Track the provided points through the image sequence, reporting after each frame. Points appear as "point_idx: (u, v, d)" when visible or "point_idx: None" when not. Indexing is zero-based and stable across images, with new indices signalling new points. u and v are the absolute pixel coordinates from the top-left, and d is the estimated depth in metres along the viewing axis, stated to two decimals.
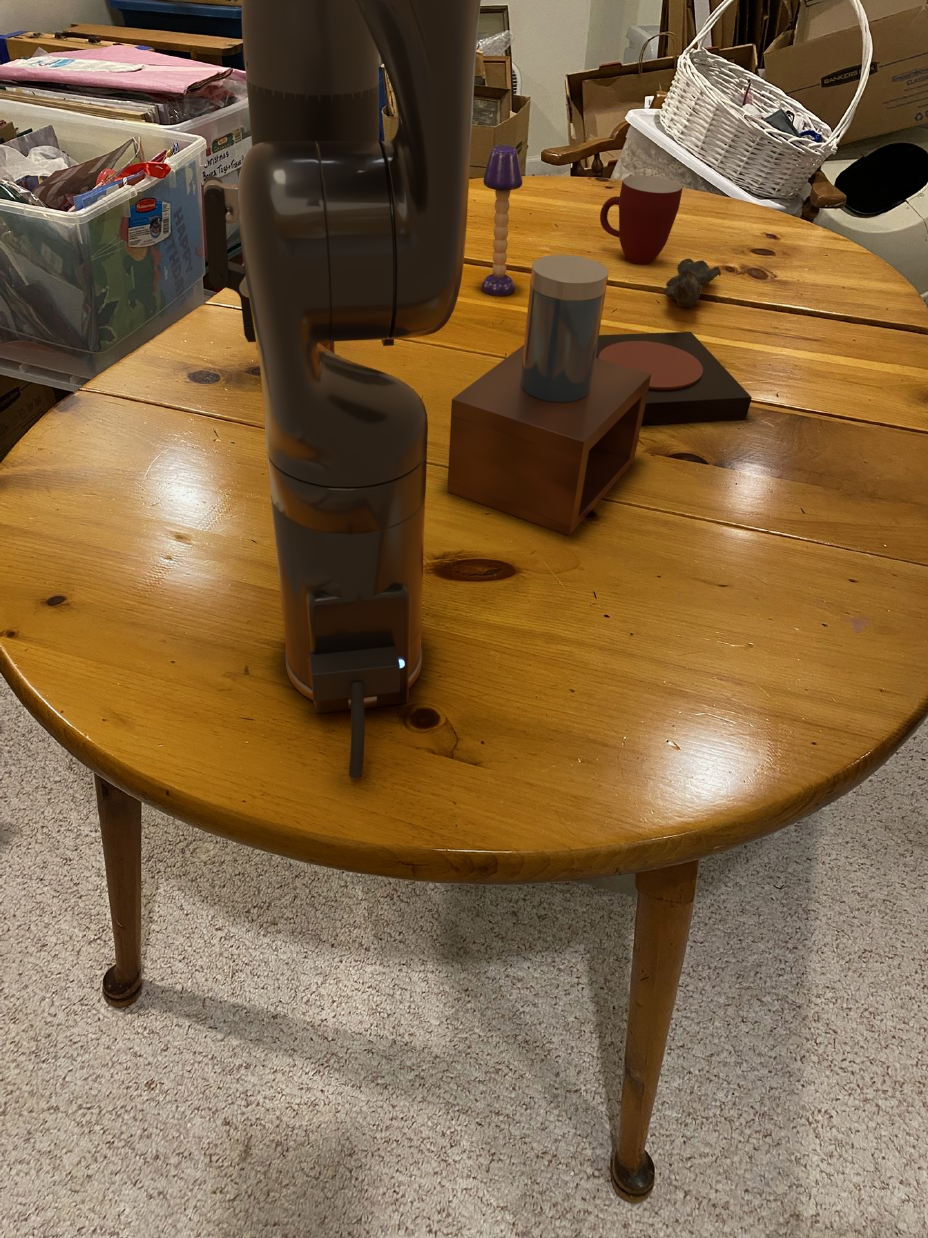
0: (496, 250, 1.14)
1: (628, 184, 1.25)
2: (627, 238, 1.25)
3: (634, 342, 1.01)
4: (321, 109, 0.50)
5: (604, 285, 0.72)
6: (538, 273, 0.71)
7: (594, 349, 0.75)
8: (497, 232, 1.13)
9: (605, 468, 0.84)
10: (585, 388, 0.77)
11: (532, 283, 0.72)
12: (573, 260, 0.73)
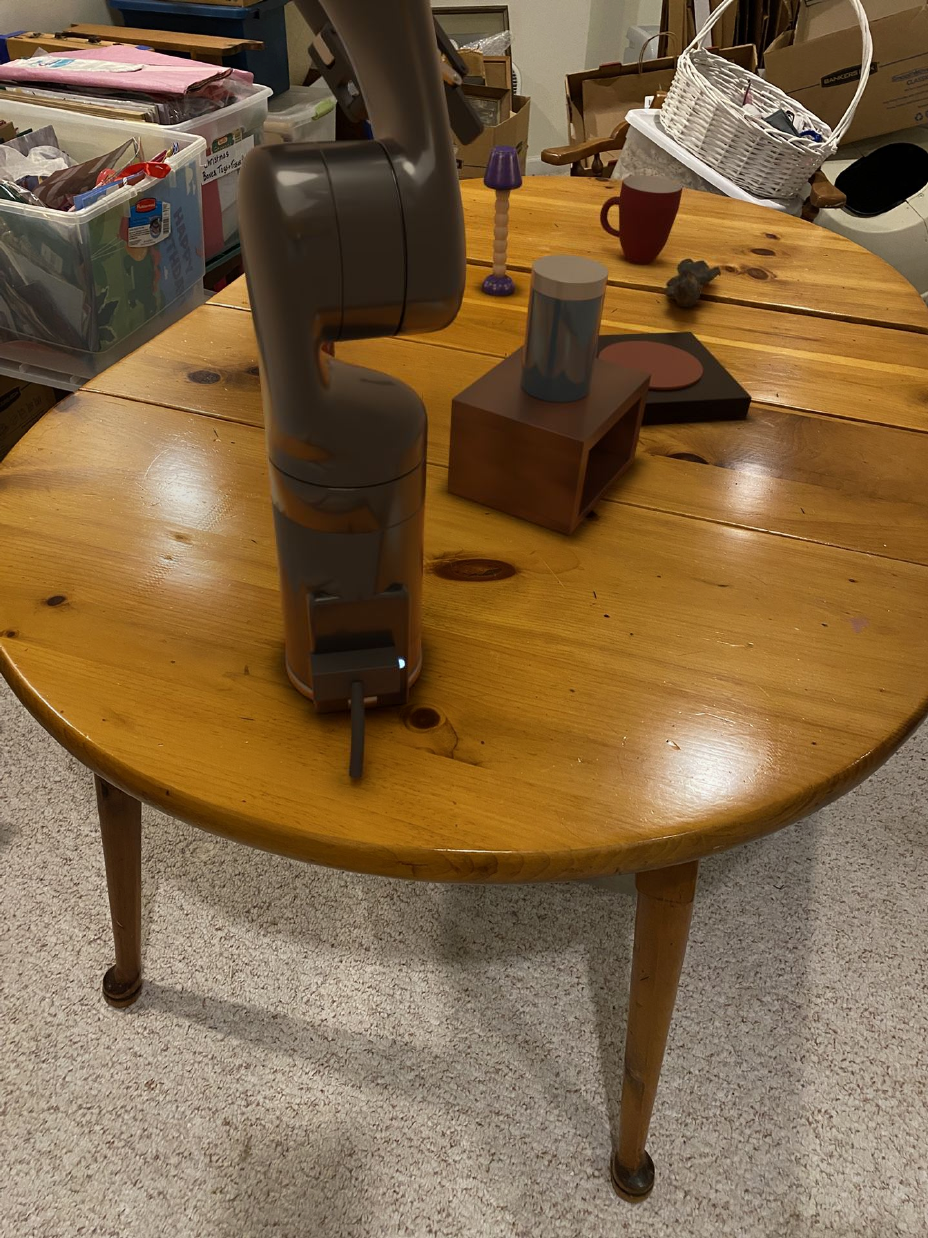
0: (496, 250, 1.14)
1: (628, 184, 1.25)
2: (627, 238, 1.25)
3: (634, 342, 1.01)
4: None
5: (604, 285, 0.72)
6: (538, 273, 0.71)
7: (594, 349, 0.75)
8: (497, 232, 1.13)
9: (605, 468, 0.84)
10: (585, 388, 0.77)
11: (532, 283, 0.72)
12: (573, 260, 0.73)
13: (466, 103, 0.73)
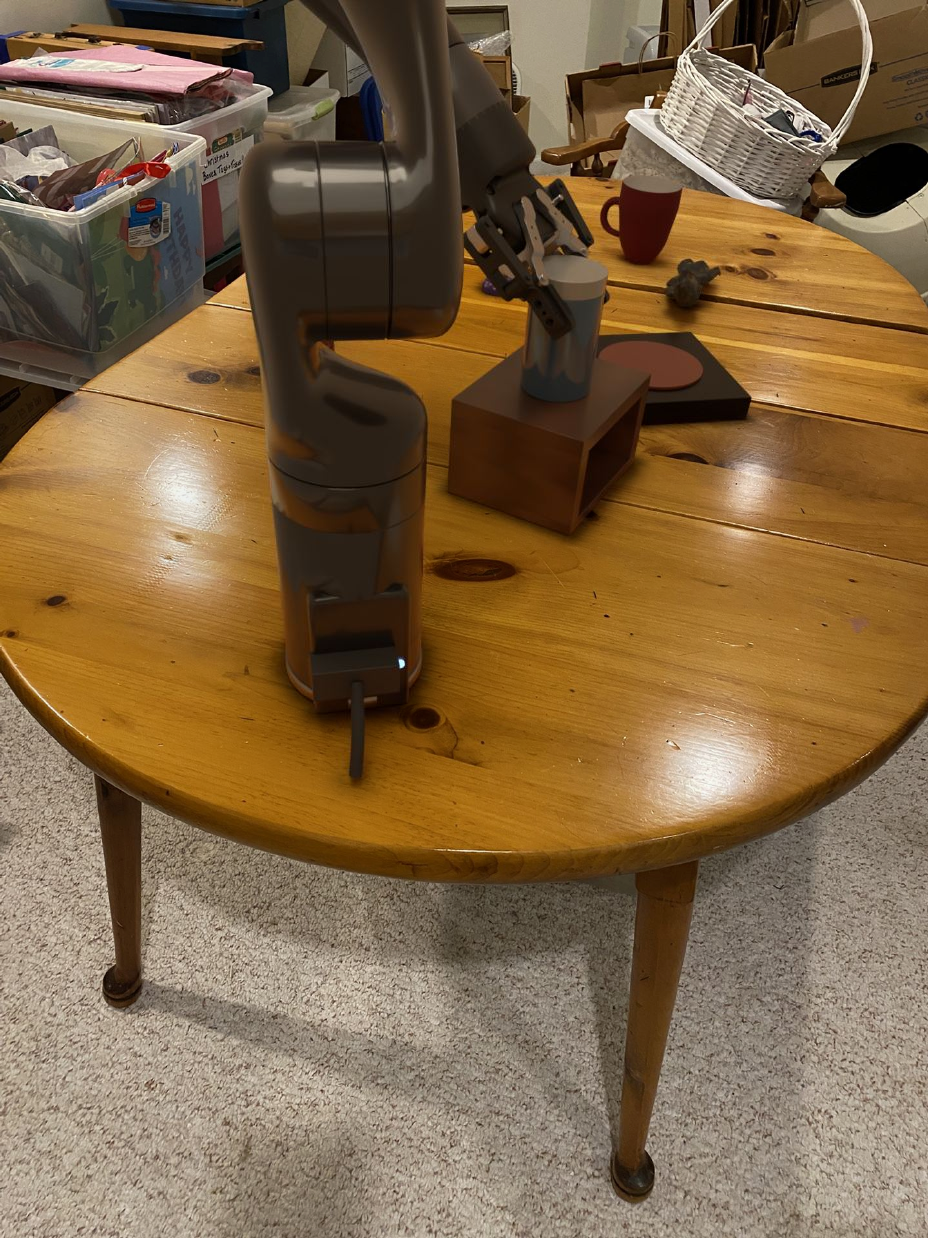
0: None
1: (628, 184, 1.25)
2: (627, 238, 1.25)
3: (634, 342, 1.01)
4: (505, 110, 0.68)
5: (604, 285, 0.72)
6: None
7: (594, 349, 0.75)
8: None
9: (605, 468, 0.84)
10: (585, 388, 0.77)
11: None
12: (573, 260, 0.73)
13: None
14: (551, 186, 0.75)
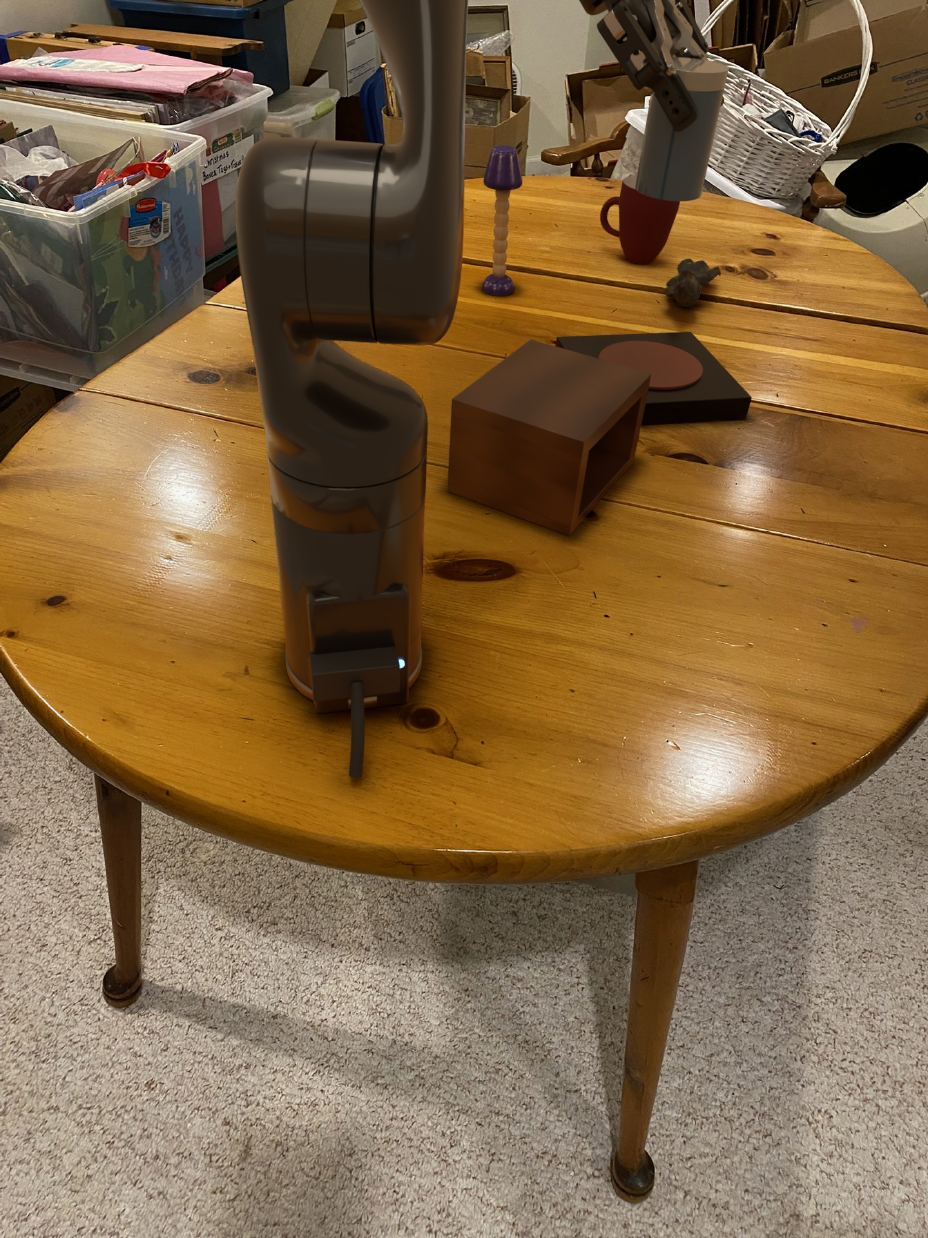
0: (496, 250, 1.14)
1: (628, 184, 1.25)
2: (627, 238, 1.25)
3: (634, 342, 1.01)
4: None
5: (725, 79, 0.77)
6: None
7: (710, 148, 0.80)
8: (497, 232, 1.13)
9: (605, 468, 0.84)
10: (699, 188, 0.82)
11: None
12: (693, 60, 0.78)
13: None
14: None
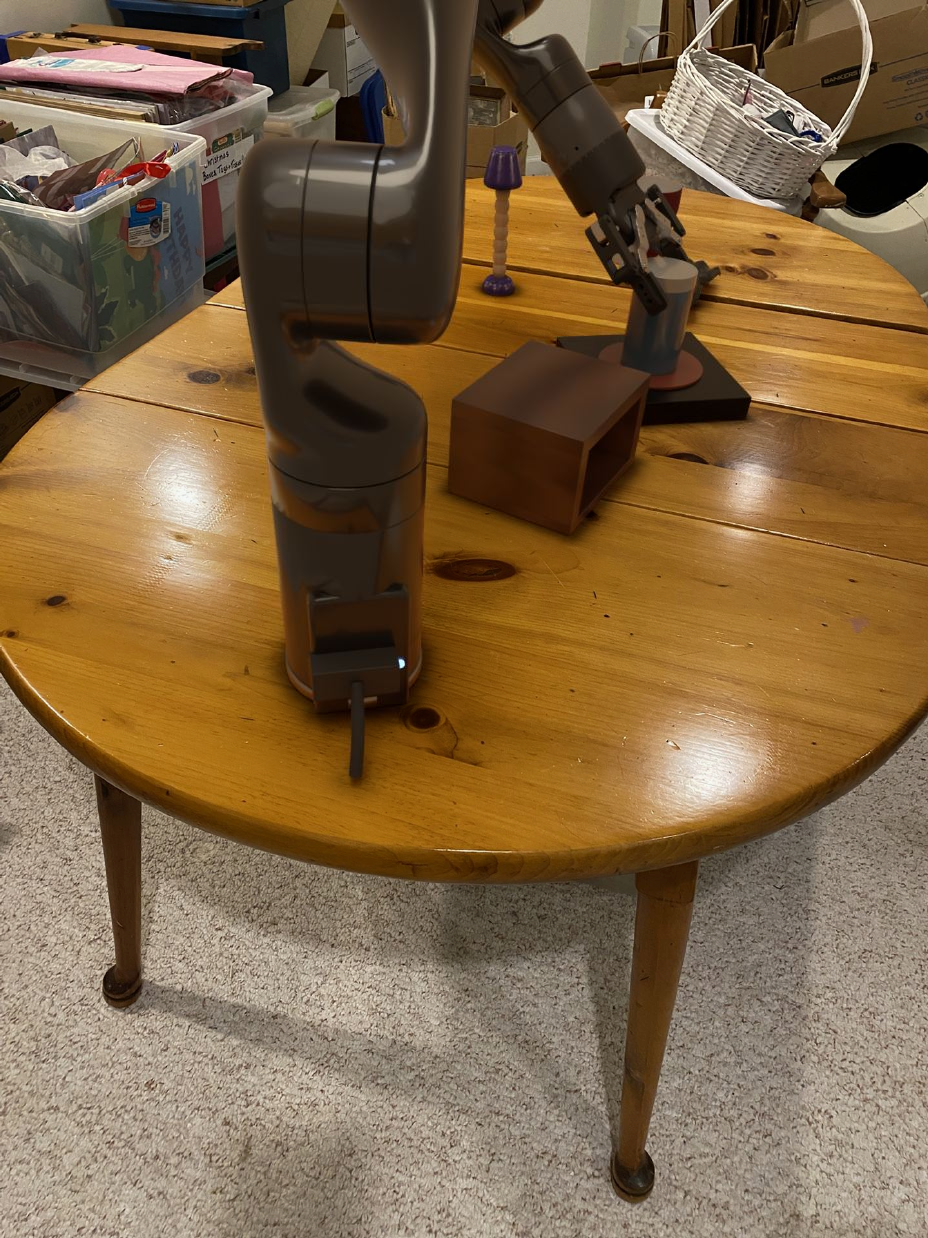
0: (496, 250, 1.14)
1: None
2: None
3: None
4: (625, 136, 0.86)
5: (695, 281, 0.90)
6: None
7: (683, 332, 0.94)
8: (497, 232, 1.13)
9: (605, 468, 0.84)
10: (675, 363, 0.96)
11: None
12: (668, 261, 0.92)
13: (687, 259, 0.94)
14: (649, 191, 0.93)
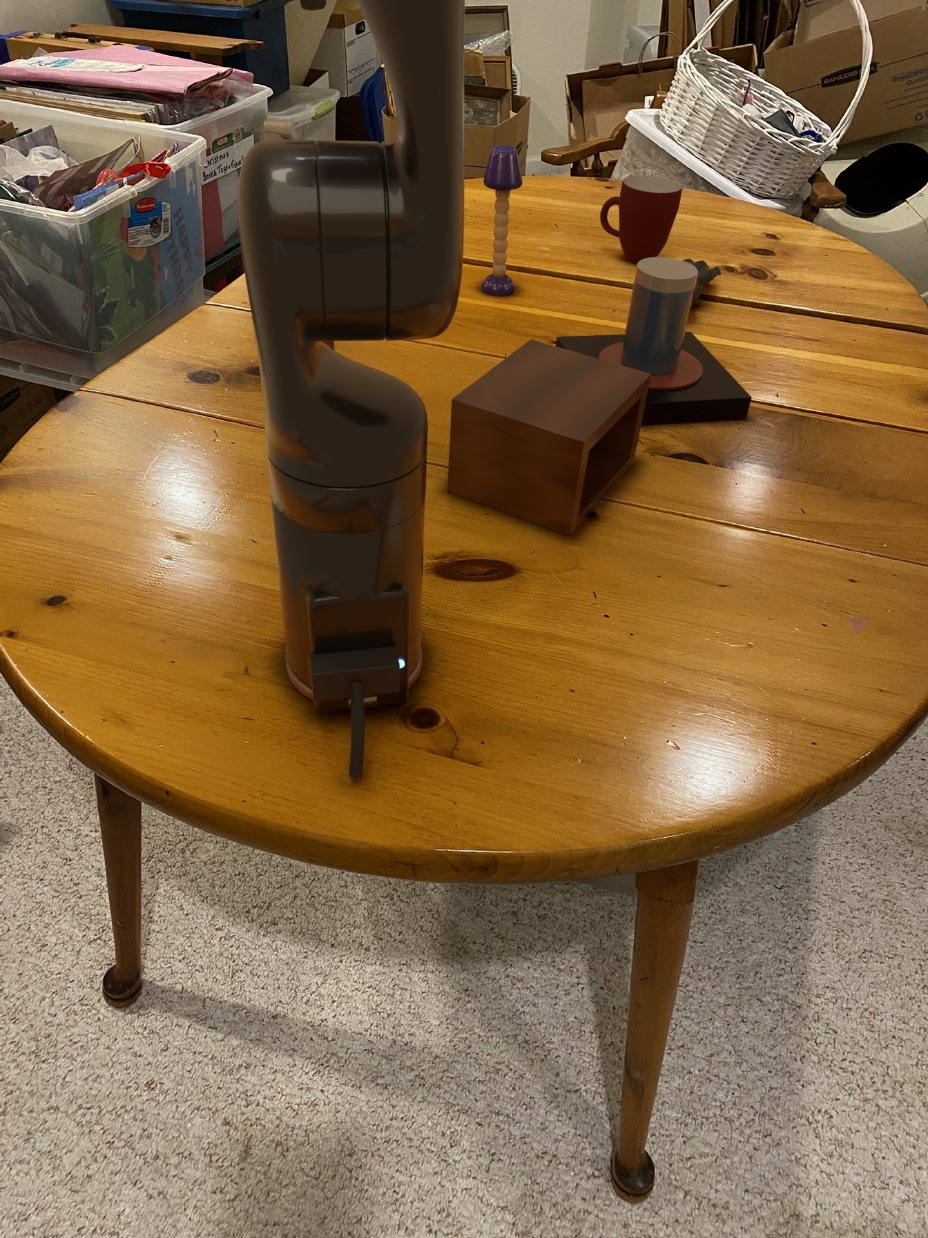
0: (496, 250, 1.14)
1: (628, 184, 1.25)
2: (627, 238, 1.25)
3: None
4: None
5: (695, 281, 0.90)
6: (643, 271, 0.90)
7: (683, 332, 0.94)
8: (497, 232, 1.13)
9: (605, 468, 0.84)
10: (675, 363, 0.96)
11: (637, 279, 0.91)
12: (668, 261, 0.92)
13: None
14: None
